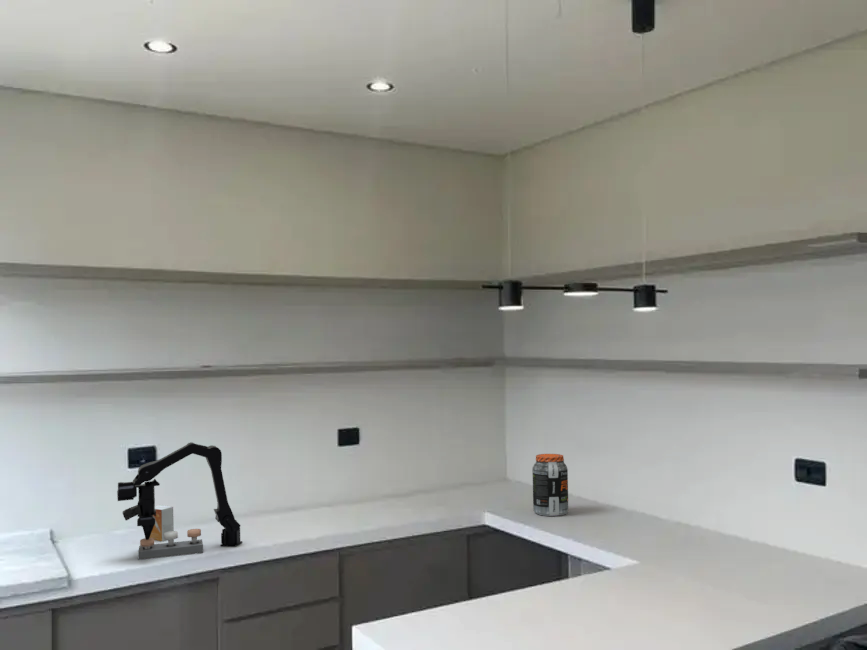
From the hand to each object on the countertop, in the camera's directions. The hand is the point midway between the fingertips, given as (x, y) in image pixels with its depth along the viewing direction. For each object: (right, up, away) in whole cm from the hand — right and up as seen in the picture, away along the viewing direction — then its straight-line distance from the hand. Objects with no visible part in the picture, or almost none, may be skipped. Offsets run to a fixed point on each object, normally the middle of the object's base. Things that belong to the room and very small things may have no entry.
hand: (147, 539), depth 287 cm
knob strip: (+8, -6, +3) cm, 10 cm away
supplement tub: (+161, -4, +54) cm, 170 cm away
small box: (-4, -7, +25) cm, 26 cm away
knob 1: (0, -5, 0) cm, 5 cm away
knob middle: (+8, -3, +3) cm, 9 cm away
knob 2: (+16, -3, +6) cm, 17 cm away
